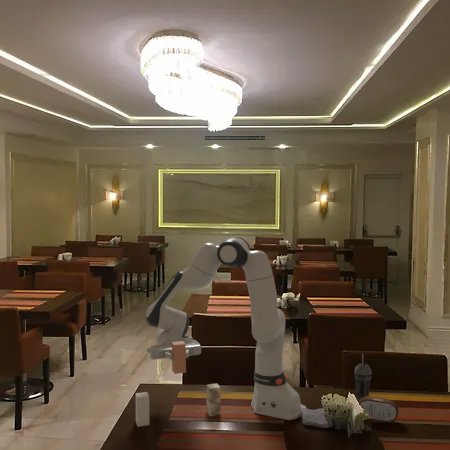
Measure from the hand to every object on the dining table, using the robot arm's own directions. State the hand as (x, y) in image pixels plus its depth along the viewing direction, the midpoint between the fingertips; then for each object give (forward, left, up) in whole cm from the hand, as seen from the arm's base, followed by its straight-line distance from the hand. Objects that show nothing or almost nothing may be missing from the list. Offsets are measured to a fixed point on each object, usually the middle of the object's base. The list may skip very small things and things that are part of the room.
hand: (179, 356), depth 196 cm
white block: (+9, +11, -25) cm, 28 cm away
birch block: (-7, -12, -25) cm, 28 cm away
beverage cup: (-48, -61, -25) cm, 81 cm away
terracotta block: (+1, -1, -6) cm, 6 cm away
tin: (-60, -47, -25) cm, 80 cm away
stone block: (-43, -30, -25) cm, 58 cm away
